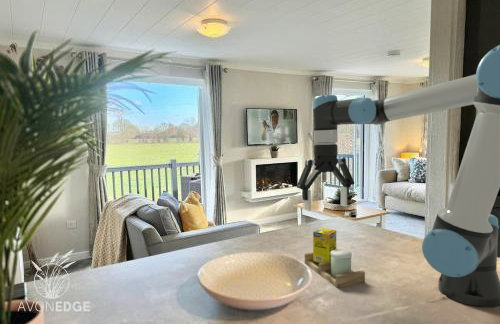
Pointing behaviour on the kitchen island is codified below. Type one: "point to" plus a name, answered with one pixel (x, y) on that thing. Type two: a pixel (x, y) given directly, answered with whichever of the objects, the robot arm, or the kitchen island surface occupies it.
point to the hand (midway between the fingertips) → (326, 208)
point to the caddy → (339, 280)
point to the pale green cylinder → (340, 262)
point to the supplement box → (323, 245)
